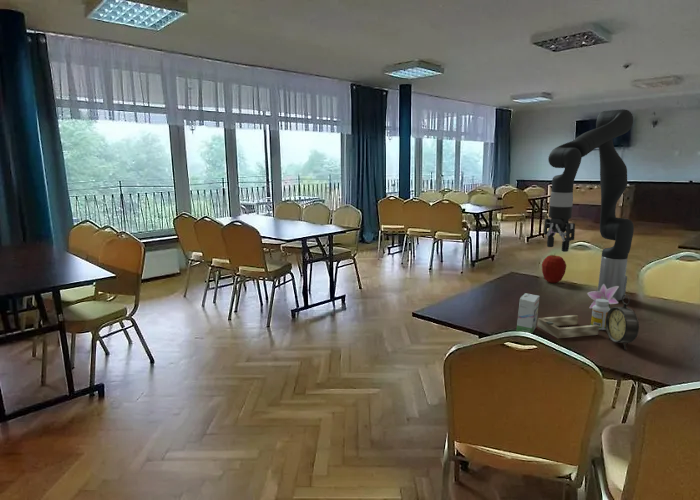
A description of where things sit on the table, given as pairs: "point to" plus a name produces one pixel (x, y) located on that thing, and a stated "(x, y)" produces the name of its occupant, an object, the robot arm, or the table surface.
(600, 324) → the supplement bottle
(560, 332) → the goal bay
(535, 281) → the table surface
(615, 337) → the alarm clock
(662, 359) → the table surface
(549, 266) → the apple
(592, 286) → the table surface
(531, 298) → the ink box
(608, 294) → the lily
